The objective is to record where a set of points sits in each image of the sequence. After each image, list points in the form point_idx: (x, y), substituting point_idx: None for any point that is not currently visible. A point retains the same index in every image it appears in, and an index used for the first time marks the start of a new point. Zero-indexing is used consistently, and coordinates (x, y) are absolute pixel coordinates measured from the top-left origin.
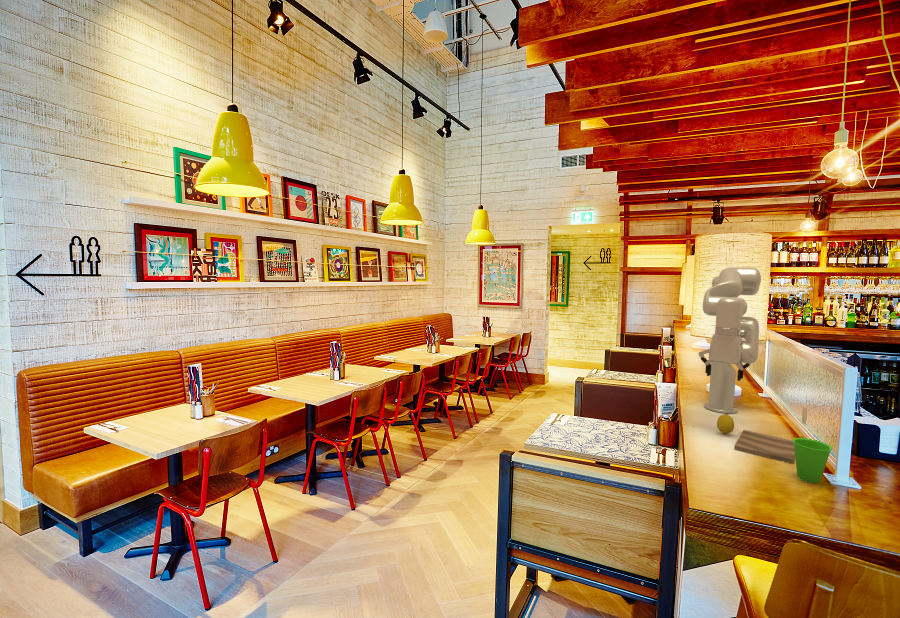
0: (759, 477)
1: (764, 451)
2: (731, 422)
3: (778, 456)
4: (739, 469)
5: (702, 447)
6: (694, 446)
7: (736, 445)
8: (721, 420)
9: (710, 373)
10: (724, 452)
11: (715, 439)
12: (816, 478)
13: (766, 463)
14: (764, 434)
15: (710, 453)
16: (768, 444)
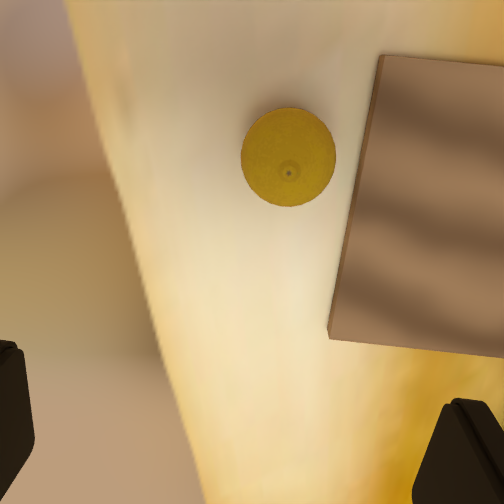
0: (388, 496)
1: (440, 339)
2: (320, 192)
3: (485, 354)
4: (337, 476)
5: (217, 370)
6: (191, 376)
7: (336, 334)
8: (265, 199)
9: (10, 387)
10: (293, 374)
11: (252, 250)
12: None
13: (427, 392)
14: (496, 67)
15: (249, 407)
16: (478, 237)
